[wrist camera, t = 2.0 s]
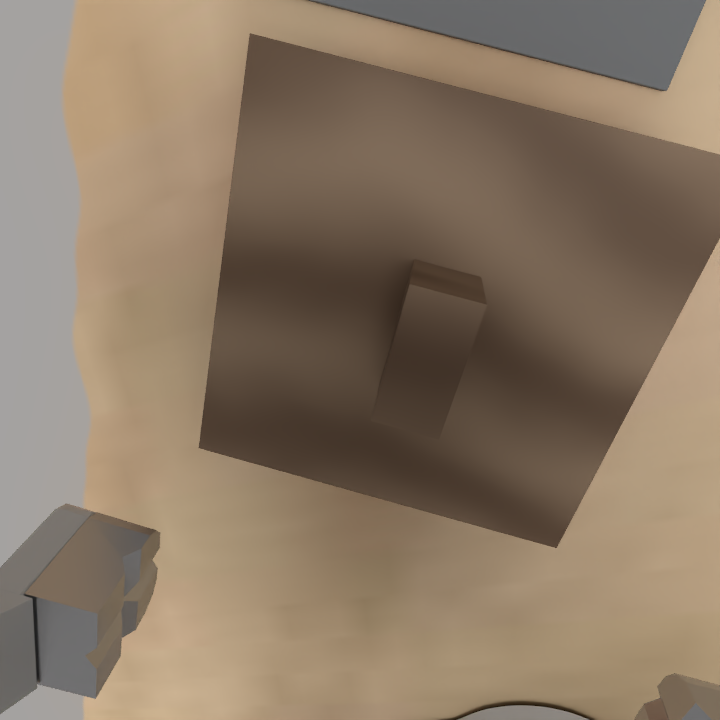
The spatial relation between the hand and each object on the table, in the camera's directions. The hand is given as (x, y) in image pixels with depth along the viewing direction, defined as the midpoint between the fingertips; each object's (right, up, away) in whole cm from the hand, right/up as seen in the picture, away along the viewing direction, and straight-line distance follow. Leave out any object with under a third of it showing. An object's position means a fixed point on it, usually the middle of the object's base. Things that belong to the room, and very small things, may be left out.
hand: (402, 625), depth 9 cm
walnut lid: (+2, +6, +13) cm, 14 cm away
